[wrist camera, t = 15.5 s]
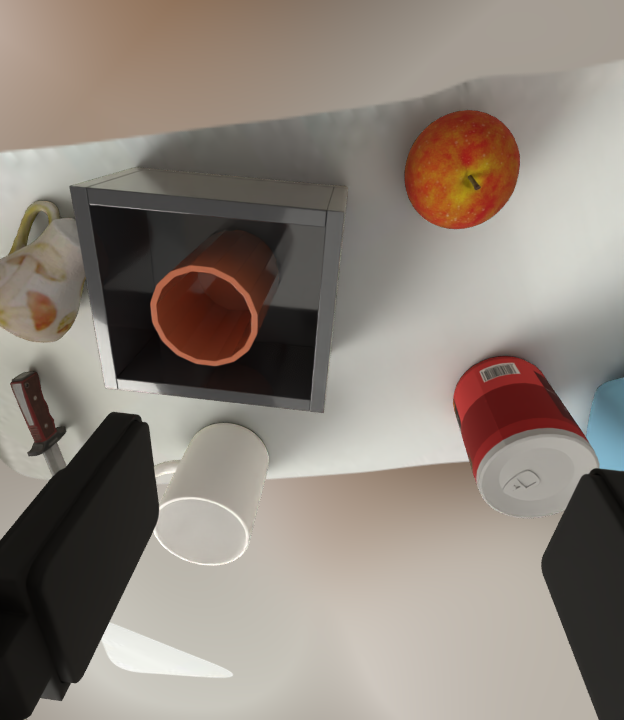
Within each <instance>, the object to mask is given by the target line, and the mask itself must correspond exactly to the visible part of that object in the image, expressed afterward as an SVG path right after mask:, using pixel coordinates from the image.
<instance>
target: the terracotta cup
mask: <svg viewBox="0 0 624 720" xmlns="http://www.w3.org/2000/svg"><path fill="white" fill-rule="evenodd" d="M278 284H279V267H278V263H277V260H276V258H275V256H274V254H273V252H272V251H271V249H270V248H269V247H268V246H267V245H266V244H265V243H264V242H263V241H262V240H261V239H260V238H258V237H256V236H255V235H253V234H251V233H248V232H245V231H241V230H224V231H220V232H218V233H215V234H213V235H212V236H209V237H208V238H207V239H206V240H205V241H204V242H203V243H202V244H200V245H199V246H198V247H197V248H196V249H195V250H194V251H193V252H191V253H190V254H189V255H188V256H187V257H186V258H185V259H184V260H183V261H181V262H180V263H179V264H178V265H177V266H176V267H175V268H174V269H172V270H171V271H170V272H169V273H168V274H167V275H166V276H165V277H164V278H163V279H162V280H161V281H160V282H159V283H158V284H157V285H156V287H155V290H154V293H153V296H152V299H151V302H150V306H151V315H152V322H153V325H154V327H155V329H156V330H157V332H158V334H159V336H160V338H161V340H162V341H163V342H164V343H165V344H166V345H167V346H168V347H169V348H170V349H171V350H172V351H173V352H174V353H176V354H177V355H178V356H180V357H182V358H185V359H187V360H189V361H191V362H193V363H195V364H201V365H210V366H219V365H223V364H227V363H230V362H234V361H236V360H237V359H239V358H240V357H241V356H242V355H244V354H245V353H246V352H248V351H249V350H250V348H251V346H252V344H253V342H254V340H255V338H256V336H257V334H258V331H259V329H260V327H261V325H262V322H263V320H264V318H265V316H266V313H267V311H268V309H269V307H270V304H271V302H272V300H273V298H274V295H275V293H276V291H277V289H278Z"/></svg>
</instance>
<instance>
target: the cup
mask: <svg viewBox="0 0 624 720" xmlns="http://www.w3.org/2000/svg"><path fill="white" fill-rule="evenodd" d="M268 464H269V457H268V453H267V450H266V447H265V445H264V444H263V442H262V441H261V440H260V438H259V437H258V436H257V435H256V434H254V433H253V432H252V431H250V430H249V429H247V428H245V427H242V426H240V425H236V424H231V423H218V424H213V425H210V426H207V427H205V428H203V429H202V430H200V431H199V432H198V433H197V434H196V435H195V436H194V437H193V439H192V440H191V442H190V444H189V445H188V447H187V449H186V451H185V453H184V455H183V457H182V459H181V460H172V461H166V462H163V463H160V464H157V465H155V466H154V471H155V478H157V477H158V476H160V475H163V474H167V473H174V475H173V477H172V479H171V481H170V483H169V485H168V487H167V489H166V491H165V493H164V495H163V497H162V499H161V501H160V503H159V517H158V521H157V524H156V526H155V528H154V530H153V531H154V534H155V536H156V538H157V539H158V541H159V542H160V543H161V544H162V546H163V547H164V548H166V549H167V550H168V551H169V552H171V553H172V554H174V555H175V556H177V557H179V558H181V559H183V560H186V561H189V562H192V563H196V564H201V565H222V564H226V563H230V562H232V561H234V560H236V559H237V558H239V557H240V556H242V555H243V553H244V552H245V551H246V550H247V548H248V545H249V541H250V537H251V534H252V530H253V525H254V522H255V518H256V514H257V510H258V506H259V502H260V498H261V494H262V490H263V487H264V483H265V479H266V475H267V470H268Z"/></svg>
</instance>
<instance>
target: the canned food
mask: <svg viewBox="0 0 624 720" xmlns="http://www.w3.org/2000/svg"><path fill="white" fill-rule="evenodd" d="M453 405H454V411H455V414H456V418H457V421H458V424H459V428H460V431H461V434H462V438H463V441H464V445H465V448H466V451H467V455H468V458H469V461H470V465H471V468H472V471H473V475H474V477H475V480H476V484H477V487H478V489H479V491H480V493H481V495H482V497H483V499H484V500H485V502H486V503H487V504H488V505H489V506H490V507H492V508H493V509H494V510H496V511H498V512H500V513H502V514H505V515H508V516H512V517H519V518H539V517H546V516H550V515H553V514H557V513H559V512H562V511H564V510H565V509H566V507H567V505H568V503H569V501H570V499H571V497H572V495H573V492H574V490H575V488H576V486H577V484H578V482H579V480H580V478H581V477H582V475H584V474H589V473H590V471H591V470H593V469H594V468H599V461H598V458H597V456H596V454H595V451H594V449H593V448H592V446H591V445H590V443H589V442H588V440H587V438H586V437H585V435H584V434H583V432H582V431H581V429H580V428H579V426H578V425H577V423H576V422H575V420H574V419H573V418H572V416H571V415H570V413H569V412H568V410H567V409H566V407H565V406H564V404H563V403H562V401H561V400H560V398H559V397H558V396H557V394H556V393H555V391H554V390H553V388H552V387H551V385H550V384H549V382H548V381H547V379H546V378H545V376H544V375H543V374H542V372H541V371H540V370H539V369H538V368H537V367H536V366H535V365H533V364H531V363H529V362H527V361H525V360H523V359H520V358H517V357H511V356H498V357H493V358H489V359H486V360H484V361H481V362H479V363H477V364H476V365H474V366H472V367H471V368H470V369H469V370H467V371H466V372H465V373H464V375H463V376H462V377H461V378H460V380H459V382H458V383H457V386H456V389H455V392H454V398H453Z"/></svg>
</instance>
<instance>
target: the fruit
mask: <svg viewBox="0 0 624 720" xmlns="http://www.w3.org/2000/svg"><path fill="white" fill-rule="evenodd" d="M519 167H520V154H519V150H518V146H517V143H516V141H515V138H514V137H513V135H512V133H511V132H510V130H509V129H508V128H507V127H506V126H505V125H504V124H503V123H502V122H501V121H500V120H498V119H497V118H495V117H493V116H491V115H489V114H487V113H484V112H480V111H472V110H465V111H457V112H453V113H450V114H447V115H445V116H443V117H440V118H439V119H437V120H436V121H434V122H433V123H431V124H430V125H429V126H428V127H427V128H425V129H424V130H423V132H422V133H421V134H420V135H419V136H418V137H417V139H416V140H415V142H414V144H413V145H412V147H411V150H410V152H409V154H408V157H407V161H406V165H405V187H406V191H407V195H408V198H409V200H410V202H411V204H412V205H413V207H414V208H415V210H416V211H417V212H418V213H419V214H420V215H421V216H422V217H423V218H424V219H426V220H427V221H429V222H430V223H432V224H435V225H437V226H440V227H444V228H449V229H464V228H469V227H473V226H476V225H478V224H481V223H483V222H485V221H487V220H488V219H490V218H491V217H493V216H494V215H495V214H496V213H497V212H498V211H499V210H500V209H501V208H503V206H504V205H505V204H506V202H507V201H508V200H509V198H510V196H511V195H512V193H513V191H514V188H515V185H516V182H517V178H518V174H519Z"/></svg>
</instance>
